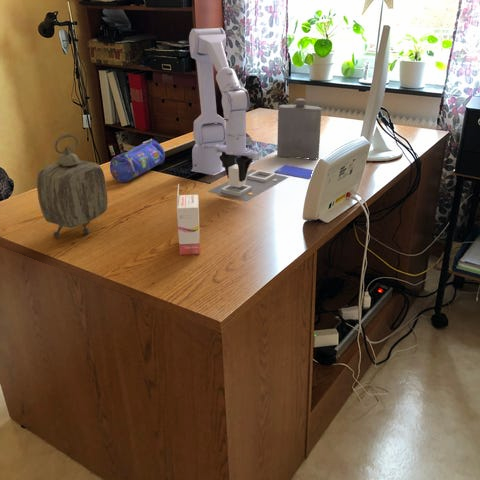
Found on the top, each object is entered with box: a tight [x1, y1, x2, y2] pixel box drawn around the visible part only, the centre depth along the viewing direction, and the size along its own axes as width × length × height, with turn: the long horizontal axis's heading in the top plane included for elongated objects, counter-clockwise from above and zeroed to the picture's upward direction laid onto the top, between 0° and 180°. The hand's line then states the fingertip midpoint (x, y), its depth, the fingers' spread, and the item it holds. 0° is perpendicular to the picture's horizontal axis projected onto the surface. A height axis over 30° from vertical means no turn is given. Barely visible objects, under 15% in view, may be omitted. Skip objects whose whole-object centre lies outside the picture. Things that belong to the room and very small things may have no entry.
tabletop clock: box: [36, 133, 108, 239], centre depth 130 cm, size 14×9×25 cm, turn 150°
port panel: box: [207, 169, 290, 202], centre depth 165 cm, size 14×24×2 cm, turn 146°
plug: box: [228, 163, 246, 187], centre depth 158 cm, size 4×4×6 cm
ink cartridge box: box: [176, 183, 201, 256], centre depth 125 cm, size 9×5×15 cm, turn 5°
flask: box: [276, 98, 322, 160], centre depth 187 cm, size 15×6×20 cm, turn 73°
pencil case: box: [109, 138, 166, 183], centre depth 174 cm, size 22×9×10 cm, turn 157°
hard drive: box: [273, 164, 314, 180], centre depth 174 cm, size 2×8×12 cm
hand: (236, 179), depth 158 cm, fingers closed on plug, 4 cm apart
